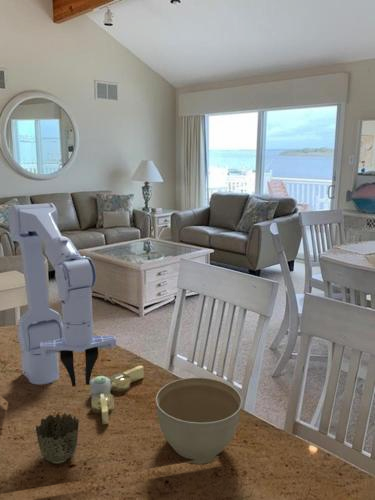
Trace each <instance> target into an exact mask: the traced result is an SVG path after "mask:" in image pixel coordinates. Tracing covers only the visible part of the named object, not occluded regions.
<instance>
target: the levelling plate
mask: <svg viewBox="0 0 375 500" xmlns="http://www.w3.org/2000/svg"><path fill="white" fill-rule="evenodd" d="M99 393H109V394H112V393H111V389H110V377H107V376H104V375H98V376H95V377H94V378H92V379H90V396H91V397H90V398H92V397H93V396H94V395H96V394H99Z"/></svg>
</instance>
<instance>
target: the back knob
mask: <svg viewBox="0 0 375 500" xmlns="http://www.w3.org/2000/svg"><path fill="white" fill-rule="evenodd" d="M144 370H145V368H144V366H143V365H137V366H135V367H132V368H131V369H127V370H126V371H123V372H122V373H115V374H113V375H111V376H110V377H109V379H110V391H112V392H117V393H122V392H126V391H128V390H129V389H131V384H132V383H134V382H137V381H138V380H141V379H143V378H145V372H144Z"/></svg>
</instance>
